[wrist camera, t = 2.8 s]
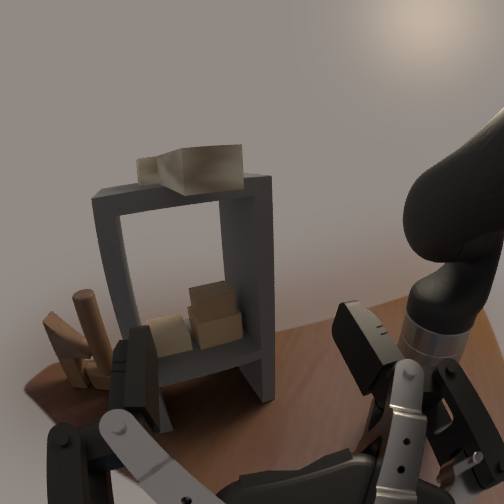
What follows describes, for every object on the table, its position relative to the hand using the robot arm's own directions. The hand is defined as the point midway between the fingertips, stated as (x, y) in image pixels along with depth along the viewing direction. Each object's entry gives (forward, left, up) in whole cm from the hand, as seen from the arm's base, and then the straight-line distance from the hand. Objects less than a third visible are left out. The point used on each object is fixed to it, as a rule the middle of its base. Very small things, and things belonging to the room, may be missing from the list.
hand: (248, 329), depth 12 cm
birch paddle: (-2, -19, +5) cm, 19 cm away
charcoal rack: (-2, -24, -27) cm, 36 cm away
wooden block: (+16, -32, -28) cm, 45 cm away
